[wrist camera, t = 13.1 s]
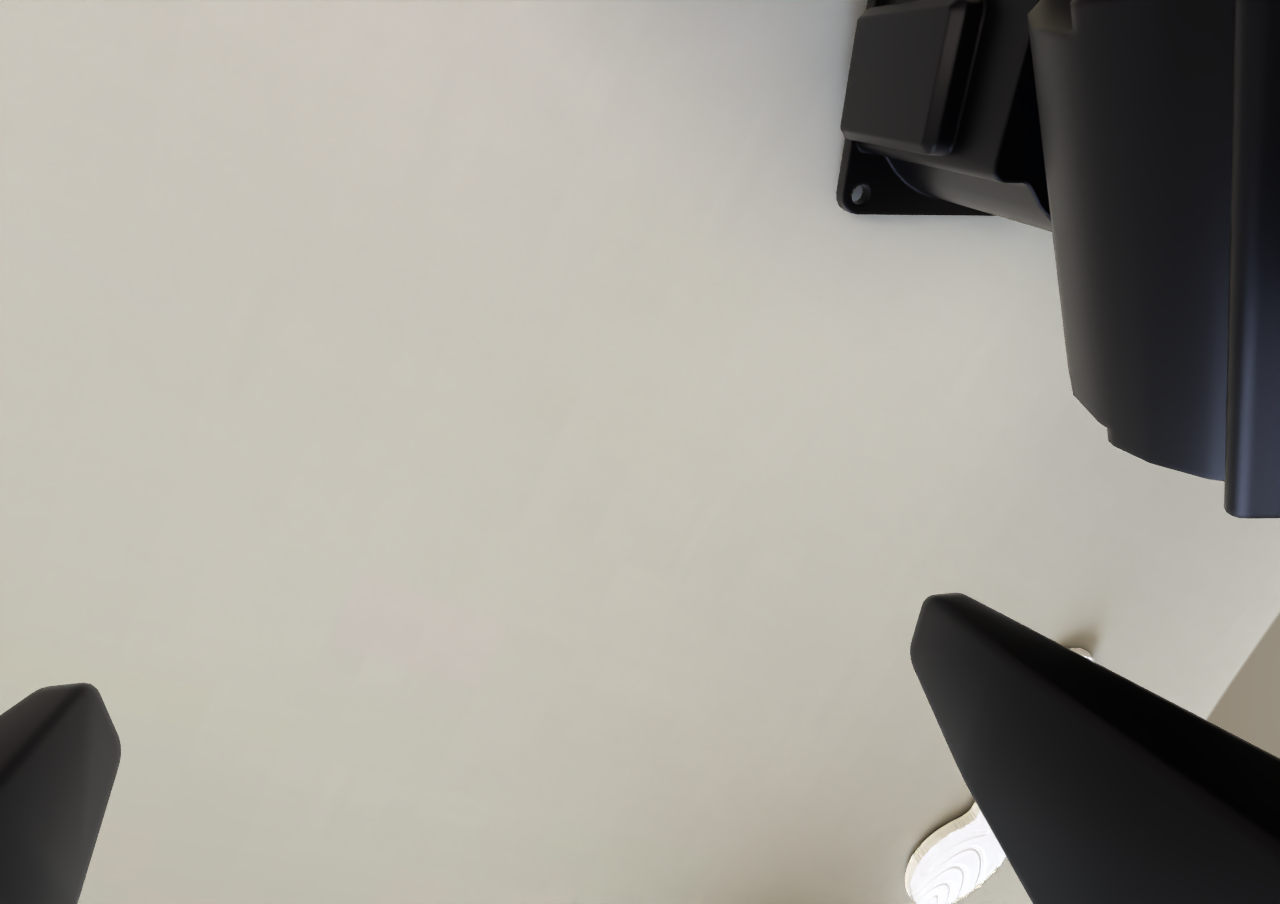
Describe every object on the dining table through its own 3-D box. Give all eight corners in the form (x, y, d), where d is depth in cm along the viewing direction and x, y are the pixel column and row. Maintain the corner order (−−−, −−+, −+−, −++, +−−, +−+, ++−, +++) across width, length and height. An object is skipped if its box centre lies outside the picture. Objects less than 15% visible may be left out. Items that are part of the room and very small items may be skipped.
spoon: (1124, 647, 31) (1134, 656, 31) (971, 896, 39) (976, 906, 39) (1023, 648, 30) (1031, 657, 29) (885, 906, 38) (890, 916, 37)
